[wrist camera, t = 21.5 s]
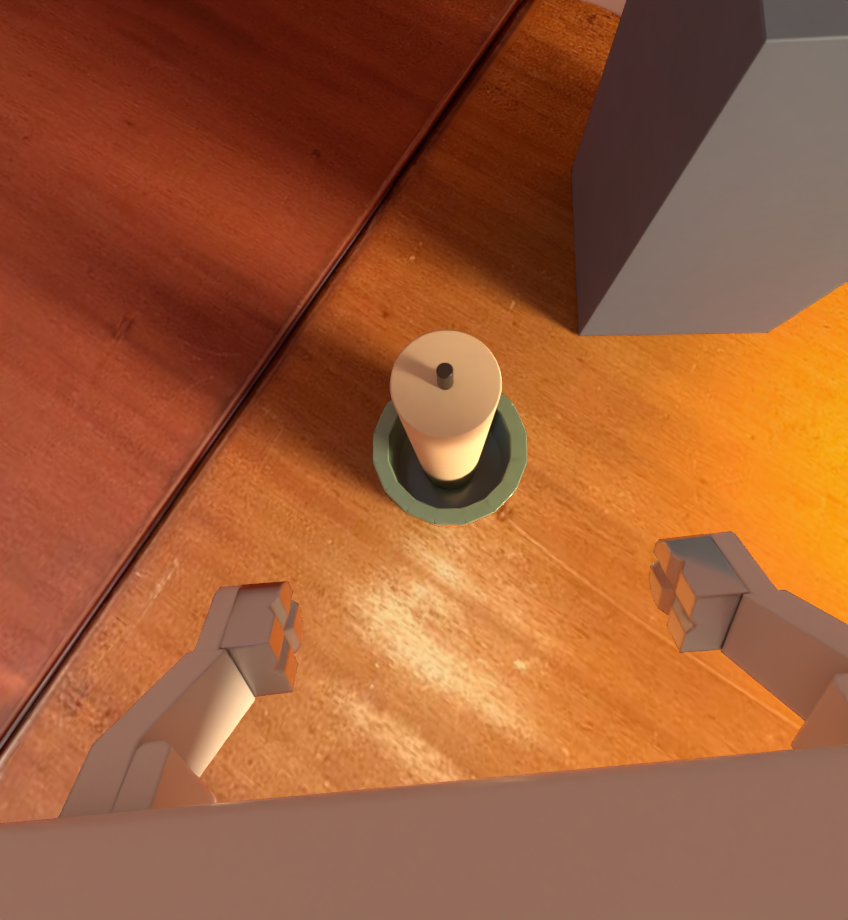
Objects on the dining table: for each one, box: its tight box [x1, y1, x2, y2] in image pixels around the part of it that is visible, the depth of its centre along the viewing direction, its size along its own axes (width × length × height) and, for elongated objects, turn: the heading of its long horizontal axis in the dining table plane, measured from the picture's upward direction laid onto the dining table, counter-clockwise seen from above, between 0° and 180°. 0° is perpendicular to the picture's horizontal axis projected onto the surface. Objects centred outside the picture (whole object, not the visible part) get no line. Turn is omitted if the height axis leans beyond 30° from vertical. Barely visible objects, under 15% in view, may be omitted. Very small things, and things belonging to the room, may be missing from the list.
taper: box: [390, 330, 502, 489], centre depth 19 cm, size 3×3×15 cm
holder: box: [372, 392, 527, 527], centre depth 25 cm, size 7×7×6 cm
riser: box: [571, 0, 848, 336], centre depth 20 cm, size 10×10×17 cm
